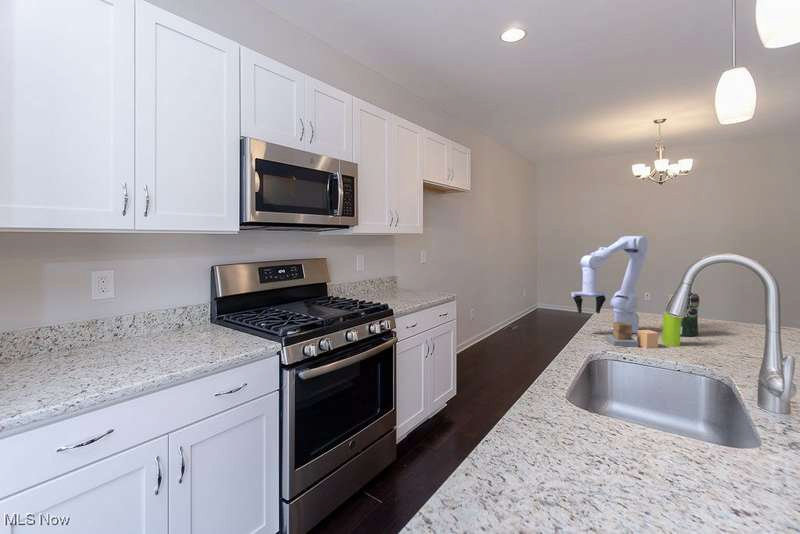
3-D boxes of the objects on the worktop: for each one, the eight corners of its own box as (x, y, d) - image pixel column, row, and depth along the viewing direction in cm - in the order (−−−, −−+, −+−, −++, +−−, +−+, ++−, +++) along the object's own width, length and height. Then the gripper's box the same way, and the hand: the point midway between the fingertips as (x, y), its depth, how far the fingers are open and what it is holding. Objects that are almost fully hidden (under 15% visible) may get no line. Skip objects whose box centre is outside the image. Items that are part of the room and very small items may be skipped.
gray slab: (627, 342, 160) (627, 335, 160) (638, 348, 151) (638, 341, 151) (604, 342, 161) (605, 335, 161) (614, 348, 152) (614, 341, 152)
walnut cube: (625, 336, 158) (626, 322, 158) (631, 339, 153) (632, 325, 153) (612, 336, 159) (613, 322, 158) (618, 339, 154) (618, 325, 153)
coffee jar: (685, 331, 175) (687, 291, 173) (701, 336, 167) (704, 294, 166) (666, 332, 173) (668, 292, 172) (682, 337, 165) (684, 294, 164)
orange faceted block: (648, 344, 156) (648, 329, 156) (657, 347, 151) (658, 332, 151) (637, 344, 155) (637, 330, 155) (646, 348, 150) (647, 333, 150)
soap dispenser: (681, 343, 156) (683, 295, 155) (678, 347, 151) (681, 297, 150) (663, 340, 160) (666, 293, 159) (660, 344, 155) (663, 295, 154)
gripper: (575, 283, 166) (574, 314, 167) (611, 283, 164) (609, 315, 165) (570, 281, 173) (569, 311, 174) (604, 281, 171) (603, 311, 172)
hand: (588, 312), depth 170 cm, fingers open, 7 cm apart
